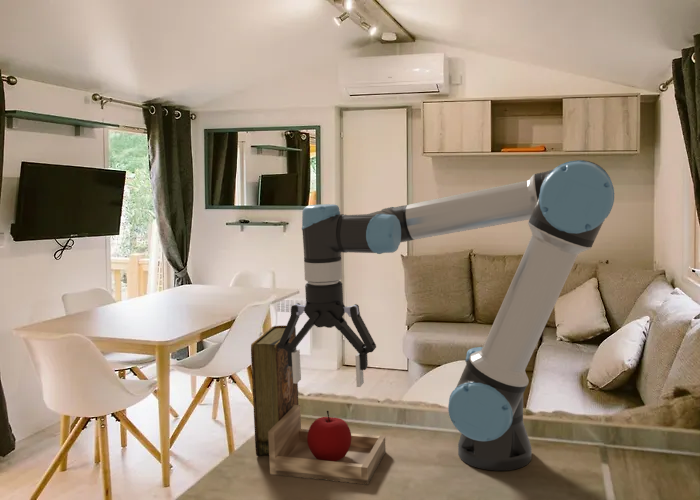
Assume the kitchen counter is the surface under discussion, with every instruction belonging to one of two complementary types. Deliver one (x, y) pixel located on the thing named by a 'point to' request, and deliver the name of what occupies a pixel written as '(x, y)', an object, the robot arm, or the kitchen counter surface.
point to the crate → (298, 461)
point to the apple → (329, 438)
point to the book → (271, 384)
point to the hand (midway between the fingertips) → (328, 383)
